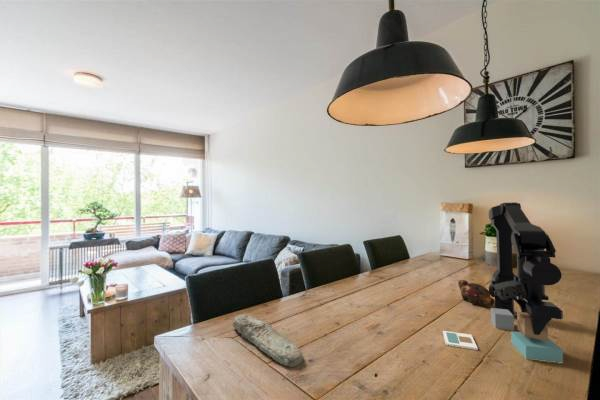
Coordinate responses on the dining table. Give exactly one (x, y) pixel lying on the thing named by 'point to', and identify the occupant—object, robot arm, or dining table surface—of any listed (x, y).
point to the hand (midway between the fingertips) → (532, 329)
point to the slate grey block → (502, 319)
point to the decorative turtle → (474, 293)
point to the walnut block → (529, 327)
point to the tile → (459, 340)
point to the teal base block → (537, 348)
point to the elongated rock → (268, 340)
